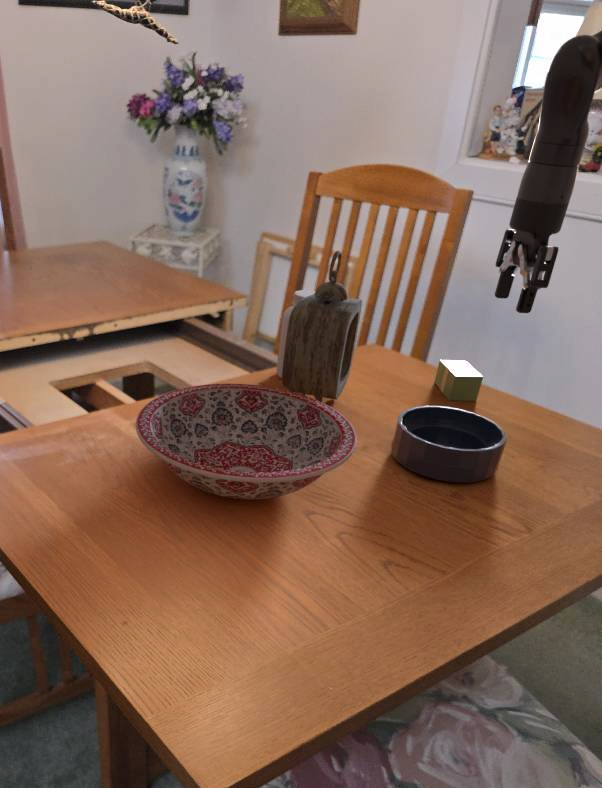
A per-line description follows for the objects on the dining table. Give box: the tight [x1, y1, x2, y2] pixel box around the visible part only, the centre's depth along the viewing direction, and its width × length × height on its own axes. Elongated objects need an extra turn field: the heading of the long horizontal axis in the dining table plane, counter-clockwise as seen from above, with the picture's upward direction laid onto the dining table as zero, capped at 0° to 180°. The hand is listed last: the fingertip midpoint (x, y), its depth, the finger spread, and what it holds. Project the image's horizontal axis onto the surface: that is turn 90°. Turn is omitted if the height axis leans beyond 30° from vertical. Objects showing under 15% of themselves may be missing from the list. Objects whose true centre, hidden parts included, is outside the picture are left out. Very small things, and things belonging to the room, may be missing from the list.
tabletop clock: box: [281, 250, 363, 403], centre depth 112 cm, size 14×9×25 cm, turn 160°
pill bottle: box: [276, 289, 316, 379], centre depth 127 cm, size 8×8×15 cm
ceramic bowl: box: [135, 383, 357, 500], centre depth 95 cm, size 29×29×8 cm
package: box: [433, 359, 484, 402], centre depth 127 cm, size 5×8×4 cm, turn 3°
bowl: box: [390, 405, 508, 483], centre depth 104 cm, size 15×15×6 cm
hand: (511, 304), depth 116 cm, fingers open, 8 cm apart
